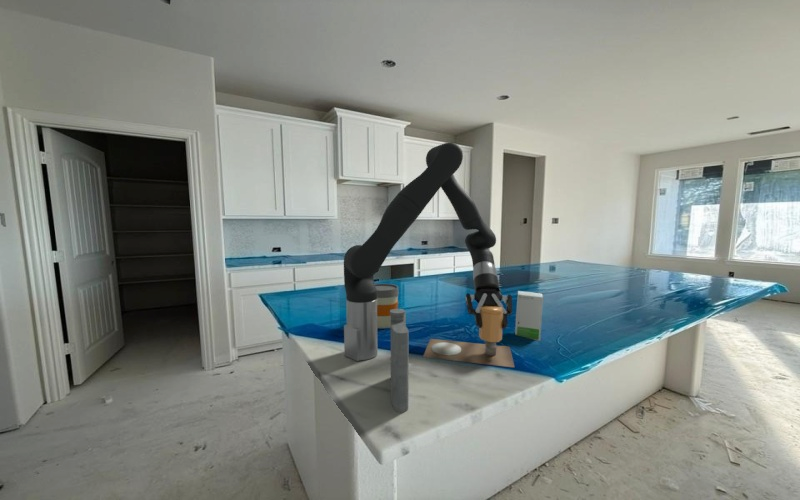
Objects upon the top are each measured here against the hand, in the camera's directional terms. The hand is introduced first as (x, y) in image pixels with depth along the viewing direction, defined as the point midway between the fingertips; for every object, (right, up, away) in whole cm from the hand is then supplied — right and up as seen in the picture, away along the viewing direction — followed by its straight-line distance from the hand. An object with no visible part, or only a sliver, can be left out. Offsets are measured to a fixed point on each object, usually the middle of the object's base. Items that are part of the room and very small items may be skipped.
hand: (492, 327), depth 87 cm
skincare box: (+19, -9, +20) cm, 28 cm away
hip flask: (-27, -12, -15) cm, 33 cm away
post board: (-6, -10, +4) cm, 12 cm away
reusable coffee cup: (-33, -7, +32) cm, 47 cm away
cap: (0, -4, +2) cm, 4 cm away
